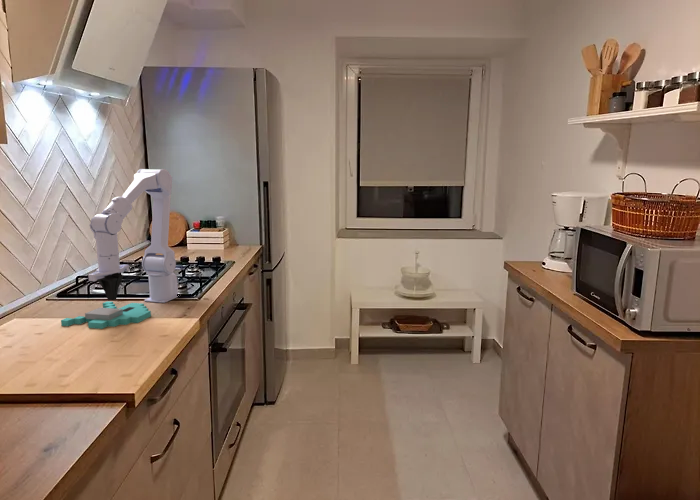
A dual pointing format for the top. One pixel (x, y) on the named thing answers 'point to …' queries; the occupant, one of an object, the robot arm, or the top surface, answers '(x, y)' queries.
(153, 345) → the top surface
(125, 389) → the top surface
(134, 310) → the alien figure
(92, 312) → the tile
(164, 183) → the robot arm
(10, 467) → the top surface
